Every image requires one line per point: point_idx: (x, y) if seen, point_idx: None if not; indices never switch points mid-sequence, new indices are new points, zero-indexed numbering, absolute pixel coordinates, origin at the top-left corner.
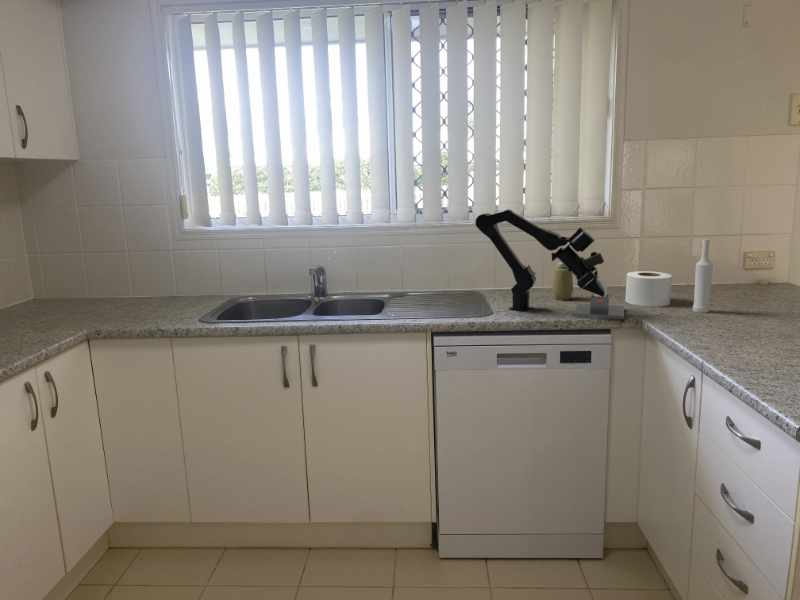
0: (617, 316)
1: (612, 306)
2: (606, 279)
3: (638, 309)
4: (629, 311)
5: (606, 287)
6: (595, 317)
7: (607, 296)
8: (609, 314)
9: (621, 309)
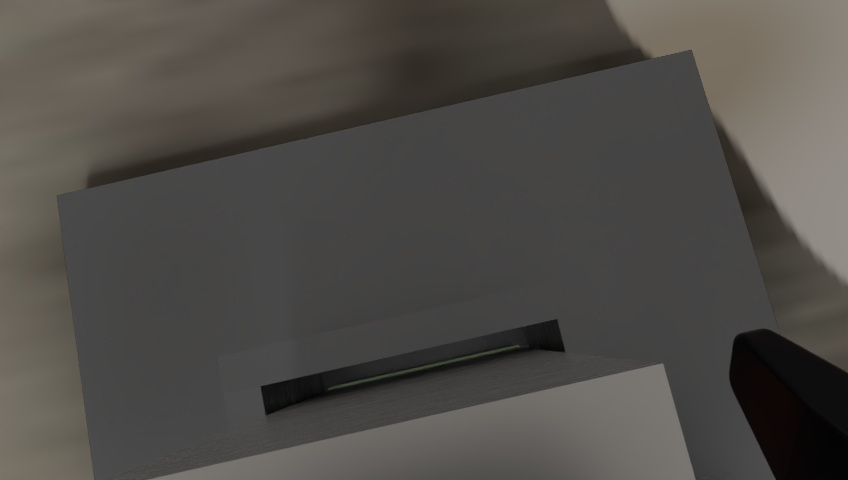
0: (710, 131)
1: (155, 328)
2: (386, 443)
3: (34, 40)
4: (189, 111)
5: (349, 404)
6: None
7: (406, 349)
8: (701, 240)
9: (305, 169)
